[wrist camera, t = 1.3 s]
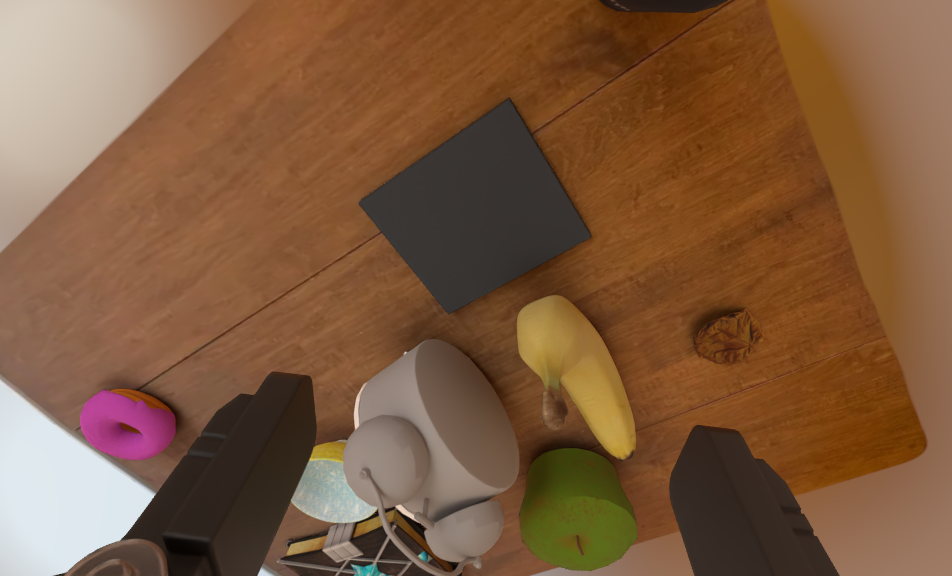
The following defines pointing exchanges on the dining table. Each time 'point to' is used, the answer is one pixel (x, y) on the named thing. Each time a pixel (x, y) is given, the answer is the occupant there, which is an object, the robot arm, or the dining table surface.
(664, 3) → the insulated water bottle
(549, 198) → the mat
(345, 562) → the book
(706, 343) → the leaf
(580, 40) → the dining table surface
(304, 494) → the bowl
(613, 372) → the banana
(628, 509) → the apple
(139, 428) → the donut
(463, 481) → the alarm clock
